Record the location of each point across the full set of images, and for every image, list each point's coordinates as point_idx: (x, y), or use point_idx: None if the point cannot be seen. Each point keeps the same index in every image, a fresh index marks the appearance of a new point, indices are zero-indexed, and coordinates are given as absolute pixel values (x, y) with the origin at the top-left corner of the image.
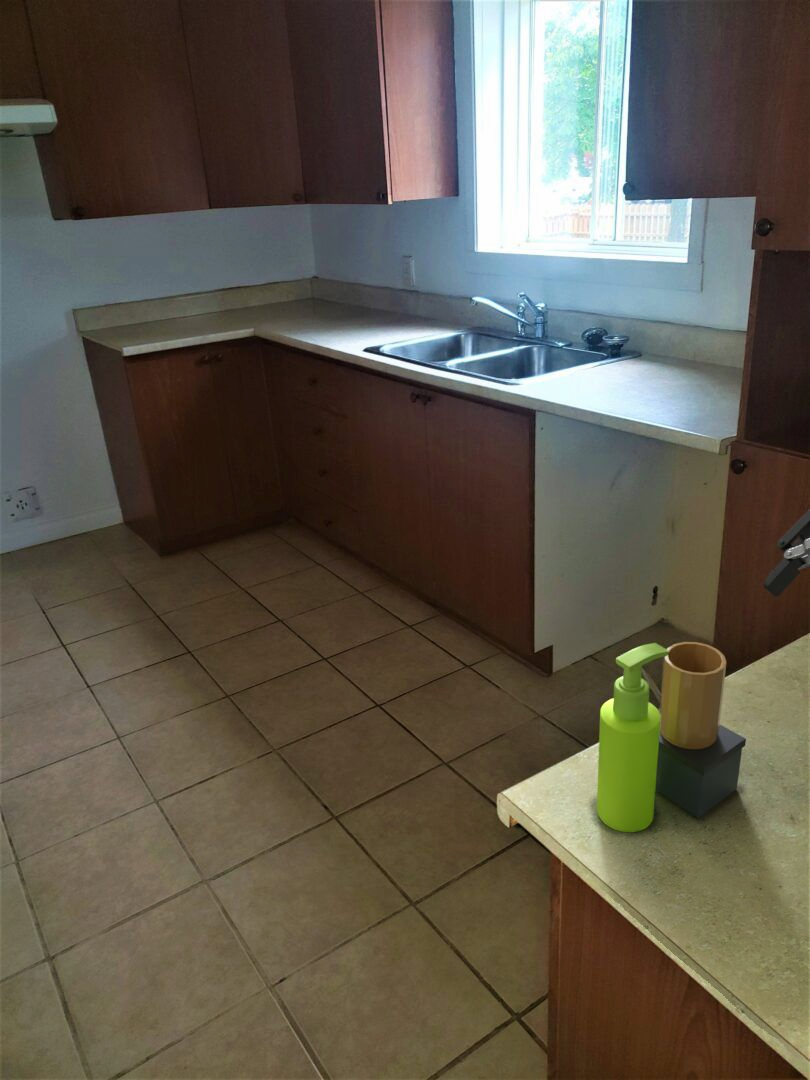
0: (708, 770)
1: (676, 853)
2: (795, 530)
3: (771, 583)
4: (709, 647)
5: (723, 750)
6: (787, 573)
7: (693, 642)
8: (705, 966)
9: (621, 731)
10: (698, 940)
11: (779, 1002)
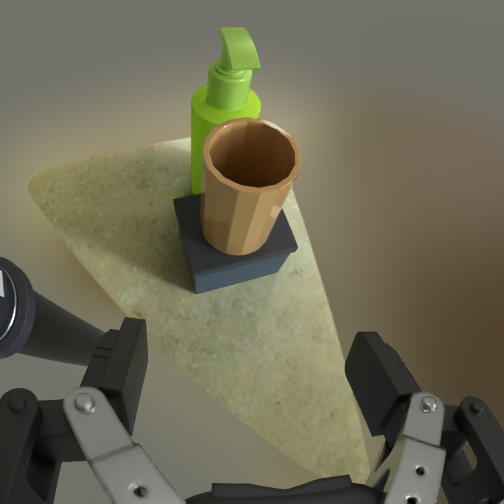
0: (175, 210)
1: (156, 195)
2: (497, 451)
3: (364, 340)
4: (270, 186)
5: (187, 236)
6: (376, 391)
7: (294, 175)
8: (77, 160)
9: (205, 85)
10: (91, 166)
11: (38, 184)
